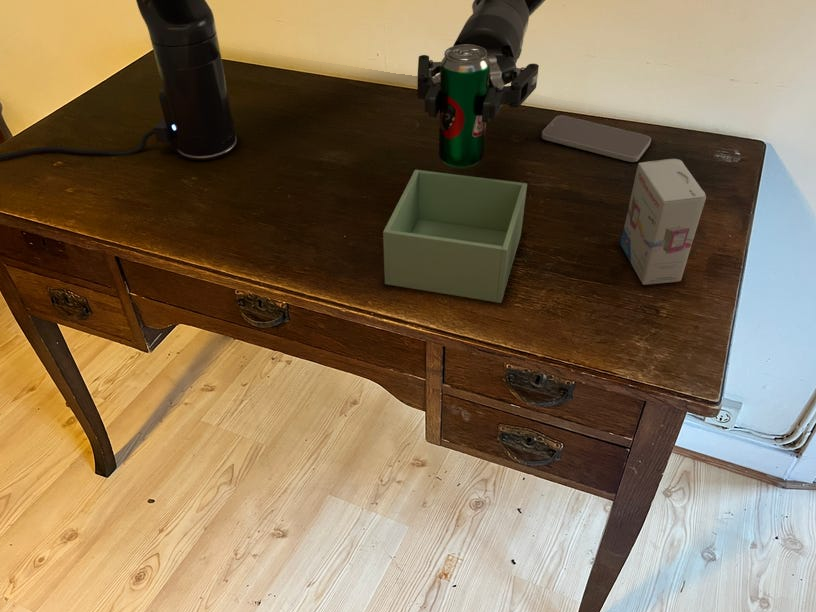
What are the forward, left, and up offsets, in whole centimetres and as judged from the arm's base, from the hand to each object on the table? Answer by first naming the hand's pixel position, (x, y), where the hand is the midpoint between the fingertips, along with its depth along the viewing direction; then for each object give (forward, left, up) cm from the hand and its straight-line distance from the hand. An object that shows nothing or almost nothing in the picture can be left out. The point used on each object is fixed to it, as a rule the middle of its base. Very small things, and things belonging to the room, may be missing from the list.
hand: (458, 111), depth 76 cm
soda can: (0, +3, -7) cm, 8 cm away
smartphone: (+14, +36, -20) cm, 44 cm away
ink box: (+23, +7, -21) cm, 32 cm away
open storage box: (0, +2, -20) cm, 21 cm away
